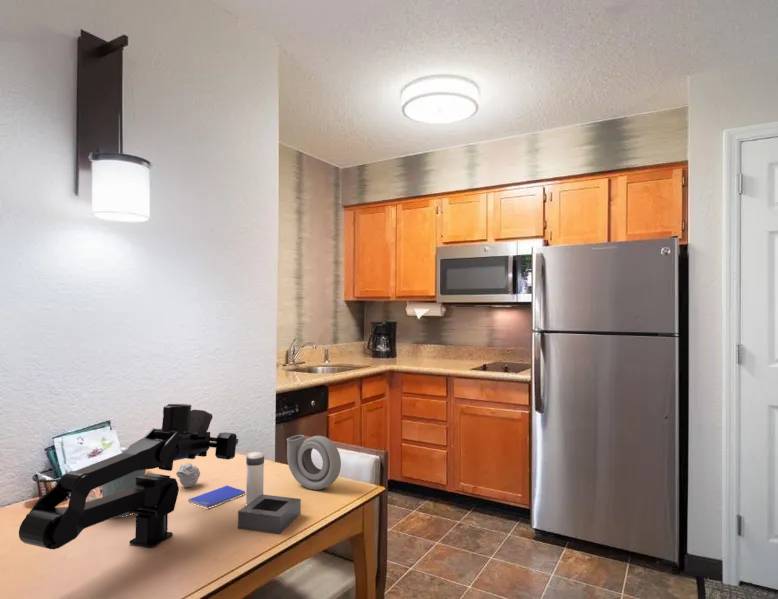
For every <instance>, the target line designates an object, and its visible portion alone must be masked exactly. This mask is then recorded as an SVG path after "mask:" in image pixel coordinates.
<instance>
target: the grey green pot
mask: <svg viewBox="0 0 778 599" xmlns="http://www.w3.org/2000/svg"><path fill="white" fill-rule="evenodd" d="M145 474H146V470H138V471H134V472H132V473H129V474H127V475H125V476H123V477H120V478H118V479H116V480H113V481H111V482H109V483H106V484H104V485H102V486H101V487H102V488H101V498H102V497H105V496H108V495H111V494H114V493H117V492H120V491H124V490H127V489H130V488H132V487H133V486H134V484H135V483H136V477H137V476H143V475H145ZM130 514H132V513H129V512H127V513H124V514H122V515H119V516H116V517H122V516H126V515H130ZM130 516H131V515H130ZM122 518H123V517H122Z"/></svg>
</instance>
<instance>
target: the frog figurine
mask: <svg viewBox="0 0 778 599" xmlns="http://www.w3.org/2000/svg"><path fill="white" fill-rule="evenodd" d="M200 476H201V471H200V468H199V467H197V465H193V464H192V463H191V462H186V463H184V464H180V465H179V469H178V470H177V471H176V477H177V478H179V479H178V481H179V483H180V484H181V485H182V487H185V488H192V487H193V486H195V485H197V483H198V481H199V477H200Z"/></svg>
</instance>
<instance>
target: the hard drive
mask: <svg viewBox="0 0 778 599" xmlns="http://www.w3.org/2000/svg"><path fill="white" fill-rule="evenodd" d="M243 494H245V495H246V491H245V490H243V489H239V488H236V487H234V486H230V485H224V486H222V487H219V488H217V489H213V490H211V491H208V492H205V493H202V494H199V495H196V496H193V497H190V498H188V500H187V502H189V504H191V503H193V504H196V505H199V506H203V507H206V508H209V507H212V506H215V505H218V504H220V503H223V502H225V503H227V502H226V501H228V500H230V501H232V500H231V499H233V498H235V499H237V498H236V497H238V496H240V495H243ZM243 496H244V495H243ZM240 497H241V496H240ZM238 498H239V497H238ZM233 500H234V499H233ZM228 502H229V501H228ZM193 504H192V505H193ZM223 504H224V503H223ZM196 505H195V506H196ZM220 505H221V504H220ZM199 506H198V507H199ZM218 506H219V505H218ZM215 507H216V506H215Z"/></svg>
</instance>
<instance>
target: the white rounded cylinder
mask: <svg viewBox="0 0 778 599" xmlns="http://www.w3.org/2000/svg"><path fill="white" fill-rule="evenodd" d="M245 457H246V458H245V461H246V462H245V463H246V487H245V488H246V491H245V495H246V497H245V499H246V500H245V501H246V502H245V504H247V505H248V504H249V503H250V502H252V501H253V500H255V499H256V498H257V497H259V496H260V495H261V494H263V495H264V481H265V480H264V478H265V477H264V472H265V471H264V470H265V468H264V466H265V464H264V463H265V453H264V452H262V451H251V452H249V453H247V454H246V456H245Z"/></svg>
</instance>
